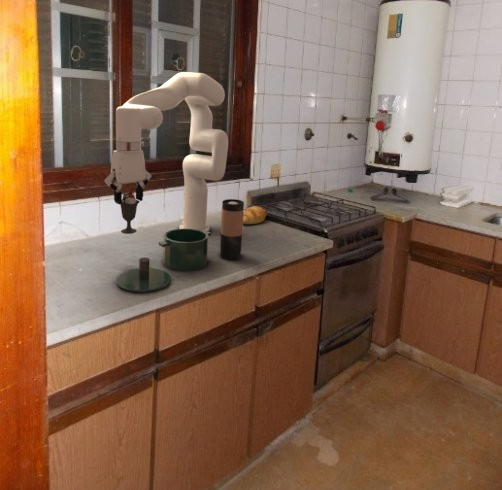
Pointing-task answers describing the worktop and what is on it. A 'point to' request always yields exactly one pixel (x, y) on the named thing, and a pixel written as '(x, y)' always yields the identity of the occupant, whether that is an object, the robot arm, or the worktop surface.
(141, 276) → the lid
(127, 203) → the sundae
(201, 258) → the pot
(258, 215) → the bread loaf
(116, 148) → the robot arm
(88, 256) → the worktop surface
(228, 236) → the travel mug
